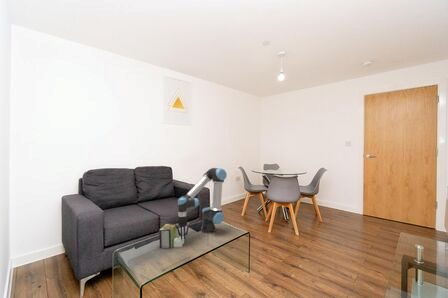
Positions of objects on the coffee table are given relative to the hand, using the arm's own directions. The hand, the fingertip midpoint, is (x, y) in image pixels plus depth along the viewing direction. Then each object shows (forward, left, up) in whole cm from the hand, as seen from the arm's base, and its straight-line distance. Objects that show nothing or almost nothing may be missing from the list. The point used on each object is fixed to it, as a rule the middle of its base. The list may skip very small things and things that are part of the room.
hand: (183, 243), depth 181 cm
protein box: (-4, -13, -2) cm, 14 cm away
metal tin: (-9, -2, -2) cm, 9 cm away
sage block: (0, -4, -2) cm, 5 cm away
